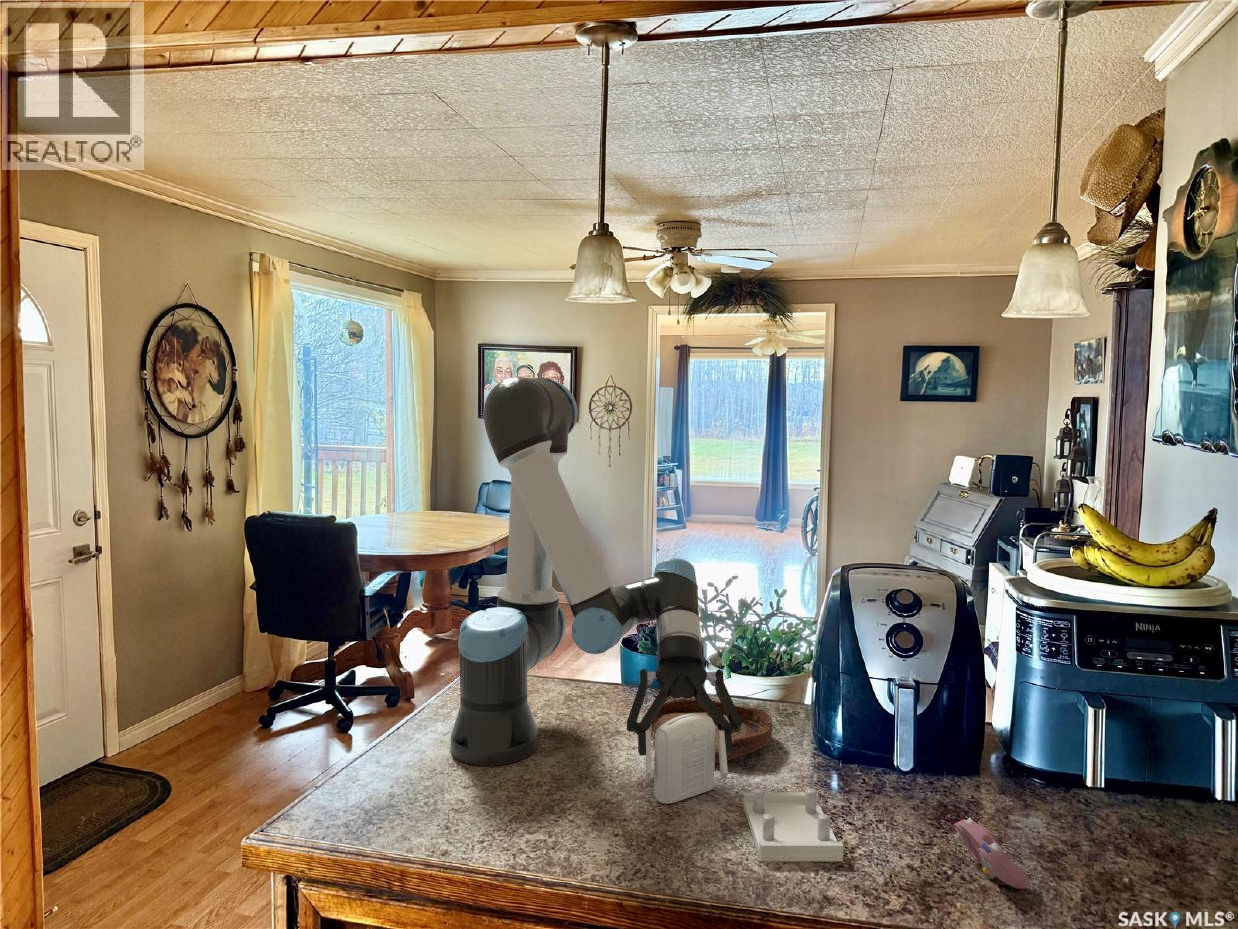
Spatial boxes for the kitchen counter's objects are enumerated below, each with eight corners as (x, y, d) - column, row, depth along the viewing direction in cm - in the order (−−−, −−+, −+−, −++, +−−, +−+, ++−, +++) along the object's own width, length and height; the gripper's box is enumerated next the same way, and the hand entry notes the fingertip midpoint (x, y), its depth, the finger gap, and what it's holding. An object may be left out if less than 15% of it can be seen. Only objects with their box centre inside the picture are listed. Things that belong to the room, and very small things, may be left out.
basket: (635, 759, 134) (635, 731, 134) (657, 712, 154) (657, 688, 153) (769, 774, 129) (769, 745, 129) (774, 724, 149) (775, 699, 148)
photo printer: (700, 778, 127) (702, 704, 126) (718, 789, 124) (719, 713, 123) (649, 796, 122) (650, 719, 120) (666, 808, 118) (667, 729, 117)
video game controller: (961, 859, 108) (941, 816, 107) (990, 843, 108) (970, 801, 108) (1003, 905, 98) (982, 859, 98) (1035, 888, 99) (1014, 841, 98)
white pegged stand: (743, 806, 119) (743, 779, 118) (815, 806, 119) (816, 779, 118) (760, 861, 105) (761, 831, 104) (842, 861, 105) (843, 831, 104)
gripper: (744, 653, 136) (759, 784, 122) (610, 653, 136) (610, 784, 122) (750, 633, 131) (766, 767, 117) (610, 632, 130) (610, 767, 116)
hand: (686, 776), depth 119 cm, fingers open, 11 cm apart
